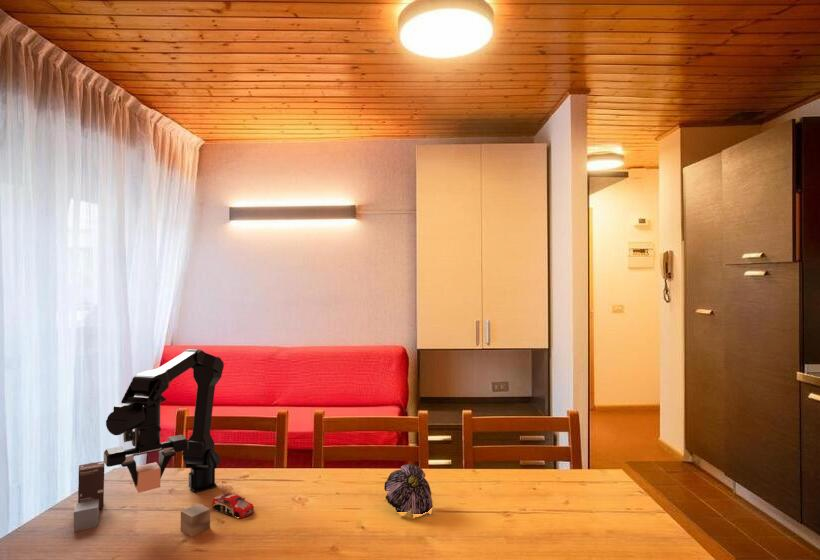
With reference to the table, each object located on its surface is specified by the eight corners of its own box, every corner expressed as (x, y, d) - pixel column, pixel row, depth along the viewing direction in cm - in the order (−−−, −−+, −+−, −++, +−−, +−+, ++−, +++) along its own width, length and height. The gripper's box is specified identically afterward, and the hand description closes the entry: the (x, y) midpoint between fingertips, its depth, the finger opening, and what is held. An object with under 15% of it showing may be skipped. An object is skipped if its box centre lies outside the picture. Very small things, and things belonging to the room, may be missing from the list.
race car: (257, 513, 130) (258, 498, 130) (242, 522, 125) (242, 507, 125) (225, 501, 137) (225, 487, 137) (209, 509, 132) (209, 494, 132)
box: (77, 514, 127) (78, 470, 127) (78, 507, 131) (78, 464, 131) (104, 509, 131) (104, 465, 131) (104, 502, 135) (104, 460, 134)
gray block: (98, 517, 126) (98, 499, 126) (97, 526, 122) (97, 507, 122) (75, 522, 124) (75, 503, 124) (73, 531, 119) (73, 512, 119)
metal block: (199, 522, 125) (199, 503, 125) (210, 528, 122) (210, 509, 122) (180, 530, 121) (180, 511, 120) (191, 537, 118) (191, 517, 118)
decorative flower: (386, 487, 125) (393, 450, 139) (375, 520, 128) (383, 481, 143) (439, 502, 125) (440, 464, 139) (427, 535, 128) (429, 495, 143)
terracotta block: (155, 480, 126) (155, 462, 126) (160, 487, 123) (160, 468, 122) (134, 485, 123) (134, 466, 123) (138, 492, 119) (138, 473, 119)
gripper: (178, 409, 135) (177, 463, 135) (100, 421, 123) (100, 481, 123) (189, 418, 126) (189, 476, 127) (107, 433, 114) (107, 497, 114)
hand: (147, 482), depth 123 cm, fingers closed on terracotta block, 5 cm apart
